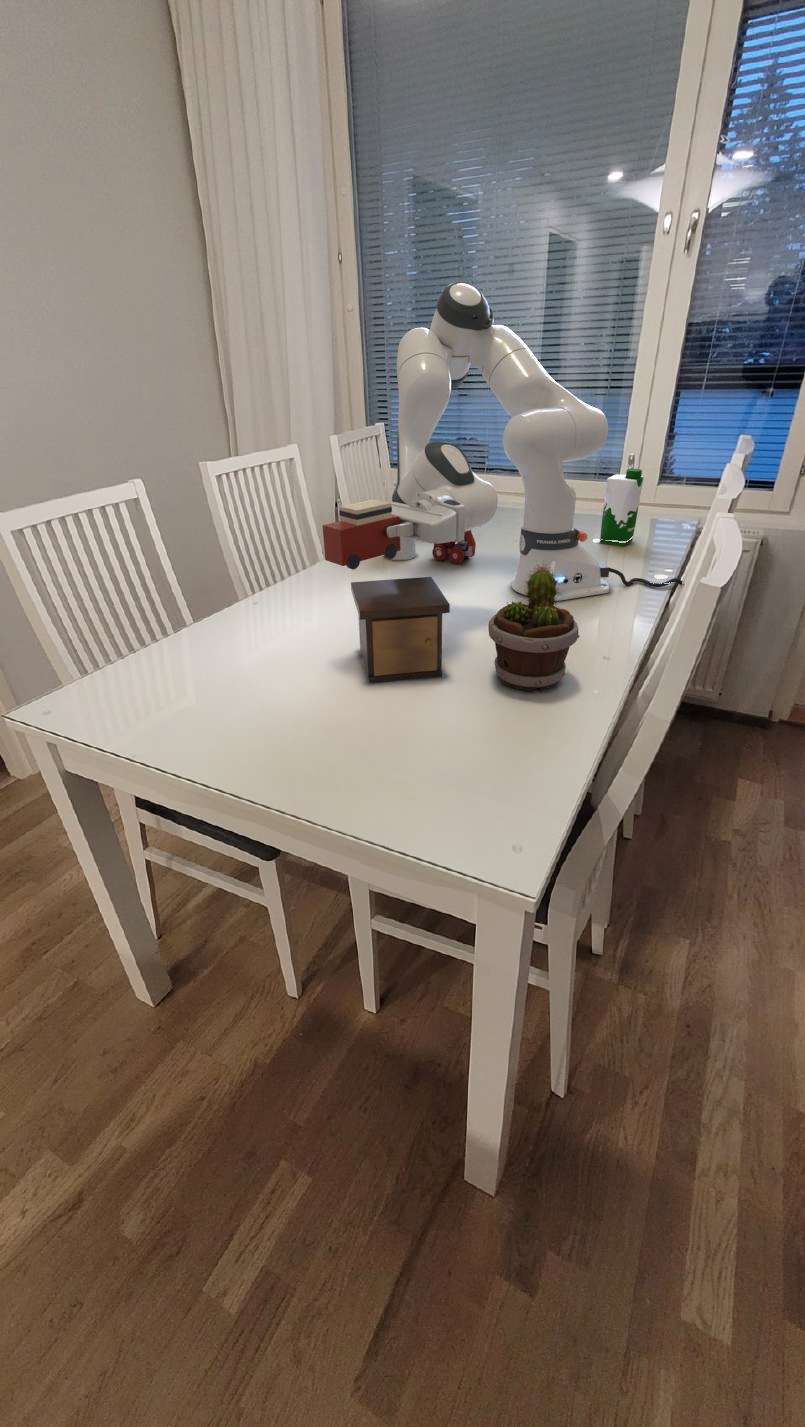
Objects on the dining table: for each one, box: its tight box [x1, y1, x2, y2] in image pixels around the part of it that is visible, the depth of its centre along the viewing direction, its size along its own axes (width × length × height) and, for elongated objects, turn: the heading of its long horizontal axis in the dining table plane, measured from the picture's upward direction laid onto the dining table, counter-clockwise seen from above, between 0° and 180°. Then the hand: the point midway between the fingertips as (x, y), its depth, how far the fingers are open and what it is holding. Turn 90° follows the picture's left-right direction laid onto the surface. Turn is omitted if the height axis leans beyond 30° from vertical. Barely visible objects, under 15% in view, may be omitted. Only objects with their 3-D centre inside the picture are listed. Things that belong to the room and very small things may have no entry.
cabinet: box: [350, 576, 451, 684], centre depth 114 cm, size 15×16×14 cm
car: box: [322, 498, 400, 570], centre depth 111 cm, size 13×5×10 cm, turn 132°
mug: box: [390, 537, 417, 561], centre depth 176 cm, size 12×8×11 cm
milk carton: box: [599, 468, 645, 547], centre depth 181 cm, size 9×9×20 cm
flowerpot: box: [488, 561, 580, 692], centre depth 107 cm, size 14×15×20 cm
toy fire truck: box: [431, 530, 477, 564], centre depth 172 cm, size 7×12×10 cm, turn 58°
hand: (374, 529), depth 112 cm, fingers closed on car, 5 cm apart
